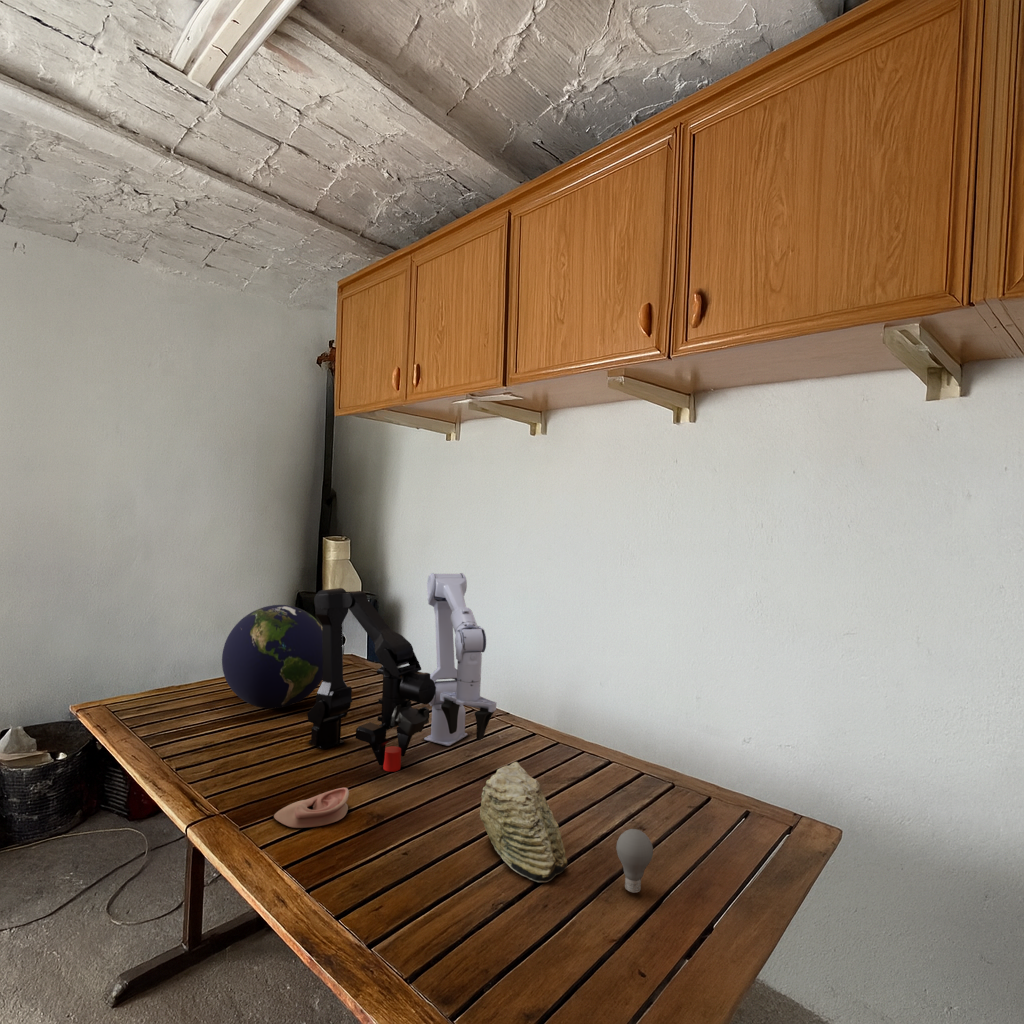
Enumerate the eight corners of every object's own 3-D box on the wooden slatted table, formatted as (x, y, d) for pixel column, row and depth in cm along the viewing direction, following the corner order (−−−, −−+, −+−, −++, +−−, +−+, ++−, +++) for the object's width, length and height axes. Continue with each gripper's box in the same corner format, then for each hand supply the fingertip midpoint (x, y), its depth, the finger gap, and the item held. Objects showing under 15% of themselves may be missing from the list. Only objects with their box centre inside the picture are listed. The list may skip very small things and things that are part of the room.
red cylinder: (399, 772, 147) (399, 753, 147) (381, 771, 147) (382, 752, 147) (401, 764, 151) (402, 746, 151) (384, 764, 151) (385, 745, 151)
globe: (289, 685, 209) (292, 594, 208) (348, 705, 191) (352, 606, 191) (199, 706, 185) (203, 604, 184) (258, 732, 167) (262, 619, 167)
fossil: (501, 827, 124) (504, 751, 124) (575, 868, 111) (578, 784, 111) (467, 843, 118) (470, 763, 118) (541, 889, 105) (545, 799, 105)
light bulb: (610, 879, 108) (613, 822, 108) (644, 879, 109) (647, 822, 109) (619, 902, 102) (622, 840, 102) (655, 901, 103) (658, 840, 103)
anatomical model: (265, 803, 122) (297, 778, 133) (264, 823, 122) (296, 796, 133) (329, 813, 119) (356, 786, 130) (328, 833, 119) (355, 805, 130)
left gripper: (390, 712, 137) (387, 784, 137) (446, 693, 152) (443, 757, 153) (355, 701, 143) (352, 769, 143) (412, 683, 159) (409, 745, 159)
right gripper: (434, 677, 151) (431, 734, 151) (486, 688, 144) (484, 747, 144) (450, 671, 157) (448, 725, 157) (501, 681, 150) (499, 738, 150)
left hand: (391, 760), depth 149 cm, fingers open, 7 cm apart
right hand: (466, 735), depth 151 cm, fingers open, 7 cm apart
